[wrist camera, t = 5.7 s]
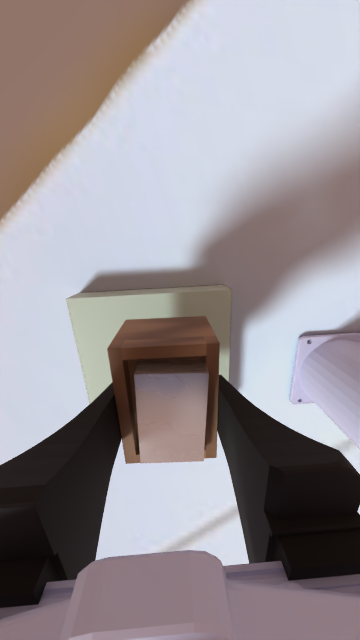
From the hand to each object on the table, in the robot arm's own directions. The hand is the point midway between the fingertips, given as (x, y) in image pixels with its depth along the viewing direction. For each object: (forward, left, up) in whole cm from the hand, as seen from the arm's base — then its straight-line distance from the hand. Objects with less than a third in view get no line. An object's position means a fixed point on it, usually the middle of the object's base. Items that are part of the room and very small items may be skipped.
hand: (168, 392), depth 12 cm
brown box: (0, 0, -2) cm, 2 cm away
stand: (+1, +2, -8) cm, 9 cm away
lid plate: (0, 0, +1) cm, 1 cm away
